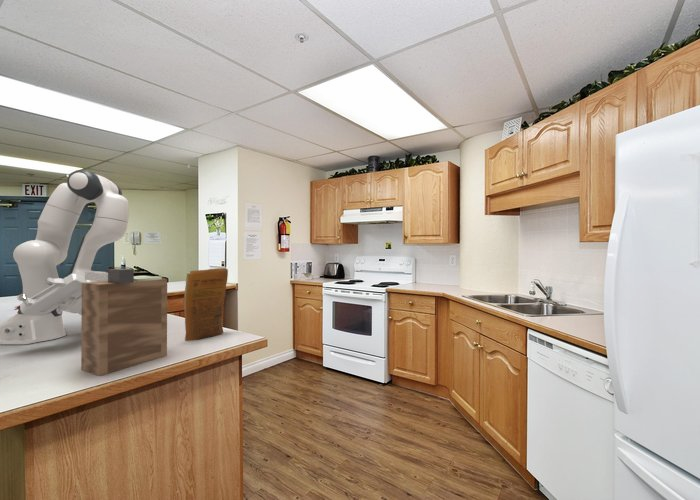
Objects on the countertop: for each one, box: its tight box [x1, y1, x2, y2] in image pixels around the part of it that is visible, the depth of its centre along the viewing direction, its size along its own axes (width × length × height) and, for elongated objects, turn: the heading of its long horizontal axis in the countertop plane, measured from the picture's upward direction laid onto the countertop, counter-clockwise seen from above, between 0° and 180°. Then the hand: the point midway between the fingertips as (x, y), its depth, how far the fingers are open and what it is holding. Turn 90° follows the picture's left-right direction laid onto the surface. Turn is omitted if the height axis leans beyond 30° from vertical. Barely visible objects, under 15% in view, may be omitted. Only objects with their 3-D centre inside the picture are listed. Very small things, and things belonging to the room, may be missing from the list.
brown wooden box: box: [80, 275, 168, 377], centre depth 103 cm, size 10×20×27 cm, turn 153°
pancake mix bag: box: [183, 267, 229, 341], centre depth 132 cm, size 7×19×28 cm, turn 142°
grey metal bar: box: [85, 268, 135, 284], centre depth 100 cm, size 21×4×4 cm, turn 63°
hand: (33, 288), depth 106 cm, fingers open, 8 cm apart
